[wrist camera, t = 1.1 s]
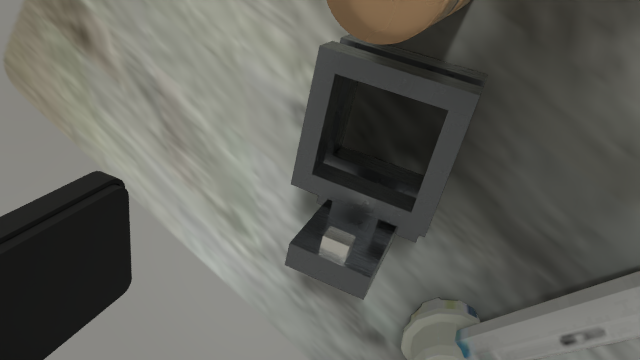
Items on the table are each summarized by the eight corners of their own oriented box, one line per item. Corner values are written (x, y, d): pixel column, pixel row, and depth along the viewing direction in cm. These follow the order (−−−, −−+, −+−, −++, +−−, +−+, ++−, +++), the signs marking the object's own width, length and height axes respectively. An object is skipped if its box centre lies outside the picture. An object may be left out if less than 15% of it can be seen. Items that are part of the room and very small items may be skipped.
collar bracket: (488, 71, 29) (473, 113, 20) (423, 238, 35) (391, 324, 26) (356, 32, 31) (292, 55, 22) (316, 195, 37) (254, 262, 28)
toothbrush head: (879, 317, 23) (417, 425, 33) (790, 253, 29) (423, 360, 39) (845, 228, 22) (381, 366, 32) (761, 181, 28) (393, 308, 38)
